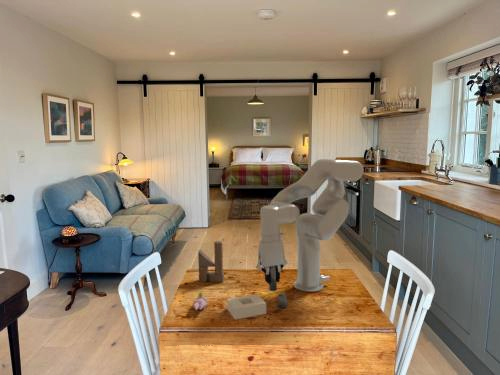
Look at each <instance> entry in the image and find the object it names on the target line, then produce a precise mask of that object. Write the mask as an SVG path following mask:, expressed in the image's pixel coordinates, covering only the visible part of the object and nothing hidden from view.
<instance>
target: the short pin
mask: <svg viewBox="0 0 500 375" xmlns="http://www.w3.org/2000/svg"><path fill="white" fill-rule="evenodd" d="M277 296H278V297H277V298H278V302H277V303H278V305H277V308H279V309H281V310H284V309H287V307H288V295H287V294H286V293H280V294H278V295H277Z"/></svg>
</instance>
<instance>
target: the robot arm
mask: <svg viewBox="0 0 500 375" xmlns="http://www.w3.org/2000/svg"><path fill="white" fill-rule="evenodd" d="M363 175H364V166H363V164H362V163H361V162H359V161H358V160H345V159H344V160H341V159H328V158H326V159H325V158H320V159H317V160H316V161H314V162H313V164H312V165H311V166H310V167H309V168H308V169H307V170H306V171H305V172H304V173H303V175H302V176H301V177H300V179H299V180H297V181H296V182H294V183H292V184H290V185H288V186H287V187H285V188H283V189H282V190H280V191H279V192H278V193H277V195H275V196H274V197H273V199H272V200H270V202H269V204H267V205H264V206H261V207H260V212H259V213H260V214H259V215H260V231H261V232H260V236H261V237H260V238H261V240H259V243H258V248H257V263H256V266H255V268H256V269H257V270H258V271H261V272H263V273H264V281H265V283H267V285H269V284H271V279H270V274H269V267H271V266H276V276H277V283H280V280H281V272H282V270H283V268H284V267H286V266H287V264H288V260H287V259H286V255H285V254H286V252H285V246H284V242H283V239H282V237H284V235H285V234H284V232H281V224H291V223H293V222H295V225H294V226H295V232H296V238H297V266H296V267H297V270H296V271H297V275H296V276H297V279H296V280H295V281H294V282H293V287H294V289H296V290H299V291H301V292H309V293H311V292H312V293H314V292H319V291H321V290H323V288H324V282H325V281H327V282H328V281H330V280H331V277H330V275H325V276H324V274H321V243H320V241H325V242H326V241H329V240H330V239H332V238H333V236H334V235H335V234H336V232H337V231H338V230H339V229H340V228H341V226H342V225H343V223H344V222H345V220H346V219H347V218H348V215H349V210H350V209H349V208H350V207H349V203H348V202H347V201H346V200H345V199H343V198H344V196H345V194H346V192H345V191H346V190H345V186H344V185H345V184H344V182H356V181H358V180H360V179H361V178H362V177H363ZM326 181H327V185H326V187H325V188H324V189H323V191H321V193H320V194H319V196H318V197H317V198H316V199H315V201H314V202H313V204H312V208H311V210H312V212H313V213H309V212H308V213H307V212H306V213H300V208H299V207H298V206H297V205H295V204H292V203H293V202H296V201H298V200H302V199H305V198H310V197H312V196H314V195H315V194H316V193H317V191H319V189H320V188H321V187H322V185H324V183H325V182H326Z"/></svg>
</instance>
